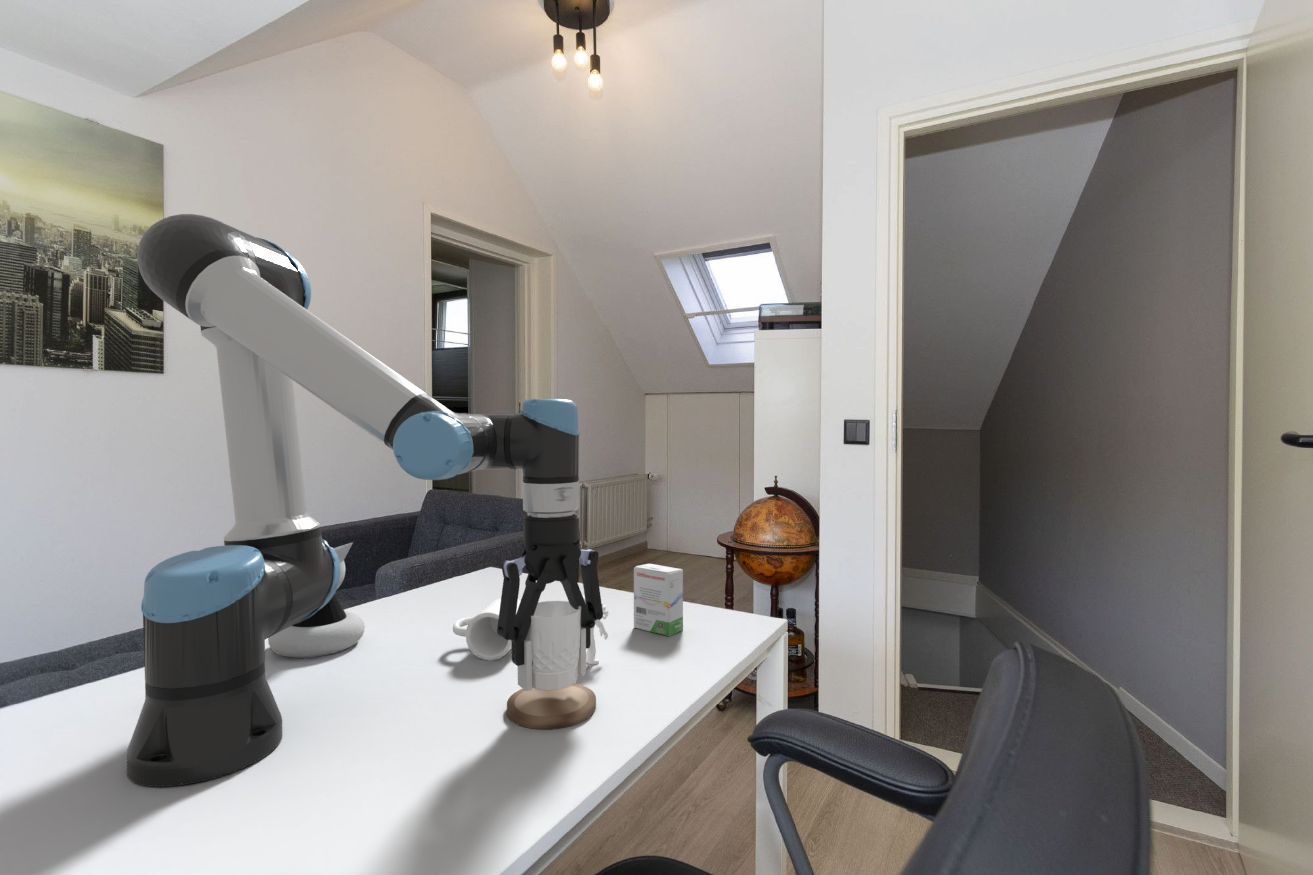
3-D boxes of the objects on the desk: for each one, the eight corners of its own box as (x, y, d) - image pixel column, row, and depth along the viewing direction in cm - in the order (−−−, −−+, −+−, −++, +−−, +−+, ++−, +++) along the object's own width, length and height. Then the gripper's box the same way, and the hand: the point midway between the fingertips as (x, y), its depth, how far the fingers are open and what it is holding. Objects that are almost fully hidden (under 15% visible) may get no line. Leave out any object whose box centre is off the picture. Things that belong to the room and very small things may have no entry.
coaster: (531, 738, 80) (531, 728, 80) (492, 704, 90) (492, 695, 90) (612, 712, 87) (612, 703, 87) (568, 683, 97) (568, 674, 97)
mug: (530, 641, 116) (530, 596, 115) (512, 661, 106) (512, 613, 105) (465, 638, 117) (465, 594, 117) (441, 658, 107) (441, 611, 107)
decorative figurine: (370, 629, 122) (369, 523, 121) (357, 657, 107) (355, 537, 107) (282, 636, 117) (280, 526, 117) (256, 666, 103) (254, 541, 103)
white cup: (593, 680, 89) (593, 608, 88) (547, 698, 83) (546, 621, 83) (557, 665, 94) (556, 597, 94) (511, 681, 88) (510, 609, 88)
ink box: (684, 630, 122) (684, 567, 121) (668, 637, 118) (669, 572, 117) (648, 621, 127) (648, 561, 126) (632, 628, 123) (632, 566, 122)
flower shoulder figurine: (598, 653, 109) (598, 583, 109) (614, 659, 106) (614, 587, 106) (556, 668, 103) (556, 593, 102) (572, 675, 100) (572, 598, 100)
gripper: (490, 523, 79) (492, 709, 79) (629, 509, 91) (629, 670, 92) (467, 516, 85) (469, 689, 85) (600, 503, 97) (601, 655, 98)
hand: (552, 679), depth 88 cm, fingers closed on white cup, 7 cm apart
